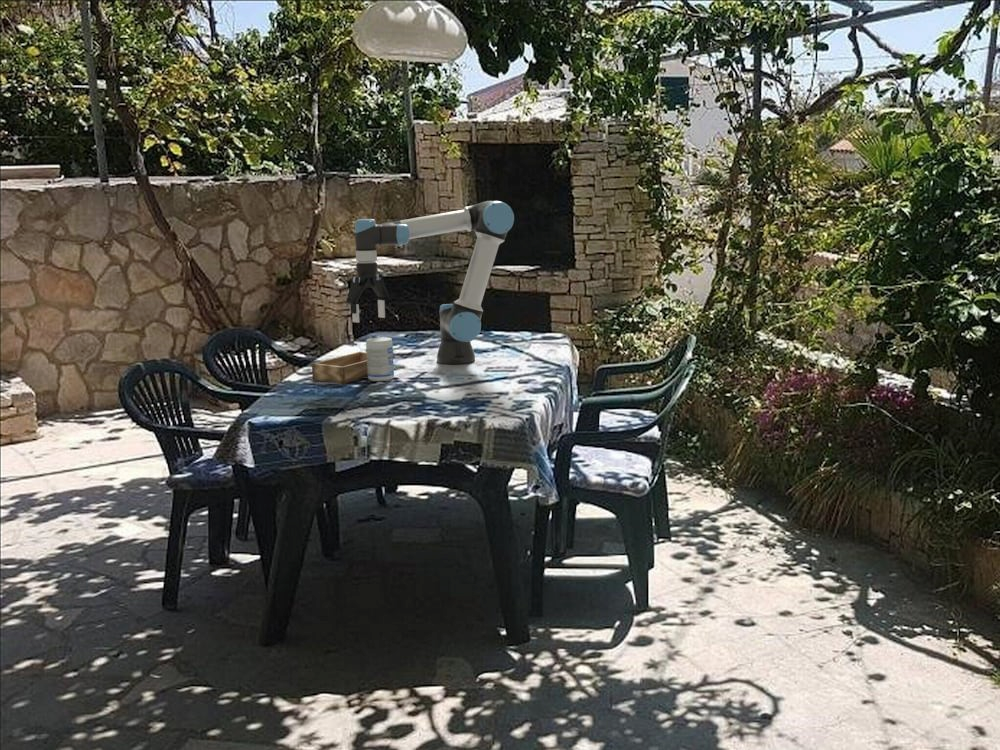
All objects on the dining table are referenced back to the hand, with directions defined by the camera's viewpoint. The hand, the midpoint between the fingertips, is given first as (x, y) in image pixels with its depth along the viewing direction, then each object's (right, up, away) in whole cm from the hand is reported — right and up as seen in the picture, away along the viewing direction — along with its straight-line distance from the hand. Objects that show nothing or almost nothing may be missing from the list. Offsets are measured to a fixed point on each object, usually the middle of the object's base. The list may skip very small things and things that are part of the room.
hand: (369, 319), depth 325 cm
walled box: (-7, -20, +3) cm, 22 cm away
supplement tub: (+5, -22, -4) cm, 23 cm away
